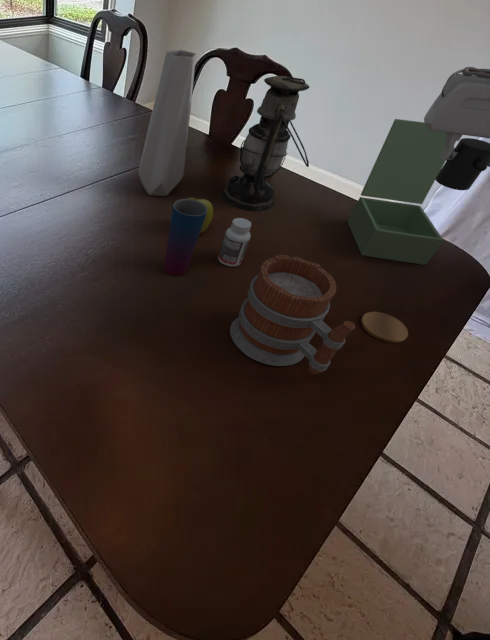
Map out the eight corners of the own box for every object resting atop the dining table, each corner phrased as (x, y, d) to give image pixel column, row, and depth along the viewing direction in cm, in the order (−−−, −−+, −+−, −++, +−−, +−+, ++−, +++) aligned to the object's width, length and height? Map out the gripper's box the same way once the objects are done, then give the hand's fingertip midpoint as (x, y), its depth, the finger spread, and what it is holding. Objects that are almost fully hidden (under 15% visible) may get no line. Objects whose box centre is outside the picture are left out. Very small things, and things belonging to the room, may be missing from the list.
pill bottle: (230, 251, 103) (243, 214, 96) (246, 264, 100) (260, 226, 93) (212, 257, 101) (224, 218, 94) (227, 269, 98) (241, 231, 91)
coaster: (399, 317, 90) (401, 315, 89) (412, 346, 84) (414, 344, 83) (356, 310, 90) (358, 308, 90) (366, 338, 85) (367, 336, 84)
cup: (167, 256, 100) (180, 195, 90) (194, 267, 98) (212, 205, 87) (154, 271, 96) (167, 208, 85) (183, 282, 94) (200, 219, 83)
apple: (206, 240, 104) (204, 198, 98) (175, 238, 109) (172, 198, 103) (218, 226, 109) (217, 186, 103) (188, 225, 113) (185, 186, 108)
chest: (425, 265, 104) (444, 240, 99) (361, 255, 105) (376, 230, 101) (404, 229, 115) (420, 205, 110) (347, 220, 117) (359, 196, 112)
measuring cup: (430, 174, 82) (455, 136, 77) (462, 179, 82) (489, 140, 77) (446, 194, 77) (474, 154, 72) (480, 199, 76) (511, 159, 71)
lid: (463, 127, 100) (452, 124, 104) (396, 119, 101) (387, 115, 105) (422, 204, 110) (413, 198, 114) (361, 195, 111) (355, 189, 116)
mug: (271, 308, 89) (301, 245, 79) (343, 377, 77) (390, 313, 66) (214, 324, 85) (238, 260, 74) (280, 399, 73) (320, 335, 62)
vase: (128, 182, 126) (146, 46, 102) (165, 179, 128) (191, 46, 105) (143, 202, 118) (166, 60, 94) (182, 199, 120) (214, 60, 97)
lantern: (222, 179, 130) (256, 63, 109) (288, 190, 128) (336, 73, 106) (219, 208, 118) (257, 83, 96) (292, 221, 115) (348, 96, 93)
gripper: (464, 70, 67) (410, 160, 76) (612, 88, 64) (537, 179, 74) (449, 60, 71) (399, 147, 81) (587, 76, 69) (519, 164, 79)
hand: (466, 162), depth 77 cm, fingers closed on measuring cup, 5 cm apart
